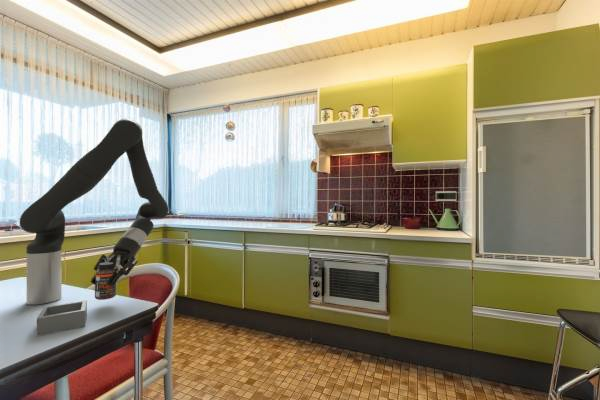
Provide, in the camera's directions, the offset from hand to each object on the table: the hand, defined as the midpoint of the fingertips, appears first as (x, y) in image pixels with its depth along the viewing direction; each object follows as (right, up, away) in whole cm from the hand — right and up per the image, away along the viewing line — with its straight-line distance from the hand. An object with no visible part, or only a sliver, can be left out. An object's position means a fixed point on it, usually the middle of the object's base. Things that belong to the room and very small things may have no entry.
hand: (101, 284), depth 93 cm
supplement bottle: (0, -5, +2) cm, 5 cm away
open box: (-2, -8, -13) cm, 15 cm away
